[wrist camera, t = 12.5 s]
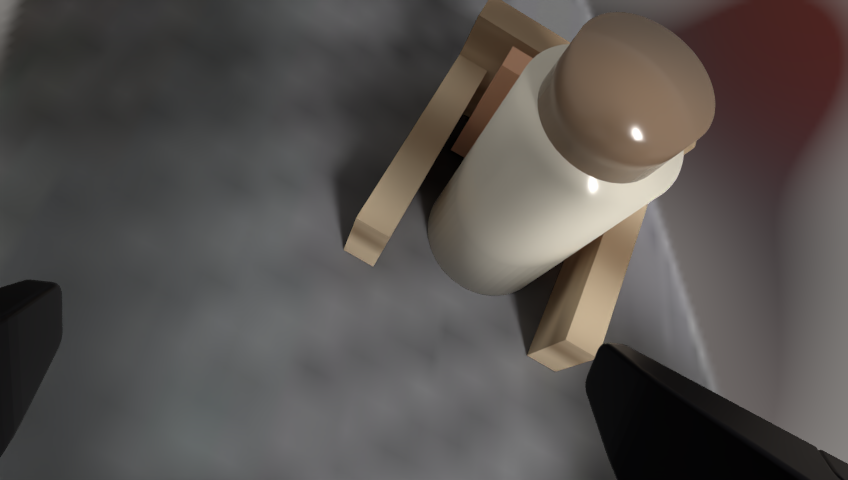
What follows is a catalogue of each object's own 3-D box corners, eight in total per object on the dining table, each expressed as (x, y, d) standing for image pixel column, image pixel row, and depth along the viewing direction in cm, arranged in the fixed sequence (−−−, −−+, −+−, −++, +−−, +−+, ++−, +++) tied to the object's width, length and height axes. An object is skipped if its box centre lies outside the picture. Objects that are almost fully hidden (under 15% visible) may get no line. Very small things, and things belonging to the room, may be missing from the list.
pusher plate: (572, 222, 28) (655, 158, 22) (450, 149, 27) (502, 65, 22) (580, 204, 28) (662, 137, 22) (460, 133, 28) (513, 46, 22)
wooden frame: (555, 371, 25) (636, 346, 19) (343, 249, 24) (367, 188, 19) (622, 184, 30) (701, 123, 25) (449, 80, 29) (492, -6, 24)
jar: (480, 320, 25) (654, 206, 14) (402, 216, 26) (508, 32, 15) (566, 254, 27) (769, 114, 16) (493, 161, 28) (639, -29, 17)
